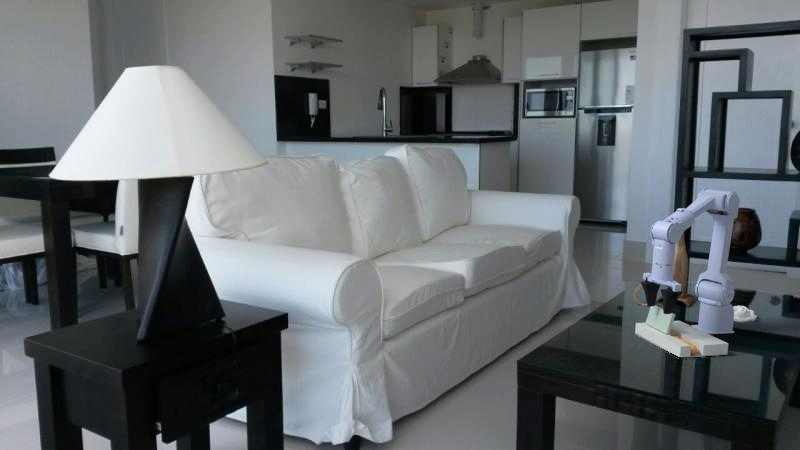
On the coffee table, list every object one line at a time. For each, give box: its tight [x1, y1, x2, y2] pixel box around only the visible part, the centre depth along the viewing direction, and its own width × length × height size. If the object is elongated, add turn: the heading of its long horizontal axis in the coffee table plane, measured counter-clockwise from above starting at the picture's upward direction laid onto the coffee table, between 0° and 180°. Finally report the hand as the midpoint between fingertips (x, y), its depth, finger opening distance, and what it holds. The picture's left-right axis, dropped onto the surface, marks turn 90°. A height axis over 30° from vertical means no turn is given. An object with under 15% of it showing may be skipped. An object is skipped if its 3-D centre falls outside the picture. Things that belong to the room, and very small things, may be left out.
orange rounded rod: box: [669, 334, 697, 354], centre depth 180 cm, size 2×12×2 cm
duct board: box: [634, 320, 729, 358], centre depth 185 cm, size 15×21×4 cm
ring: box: [632, 283, 648, 307], centre depth 224 cm, size 7×3×8 cm, turn 57°
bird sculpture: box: [656, 232, 695, 308], centre depth 228 cm, size 11×12×32 cm
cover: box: [645, 304, 676, 334], centre depth 187 cm, size 6×10×1 cm
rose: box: [733, 305, 757, 323], centre depth 212 cm, size 10×4×10 cm
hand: (659, 309), depth 183 cm, fingers open, 7 cm apart
